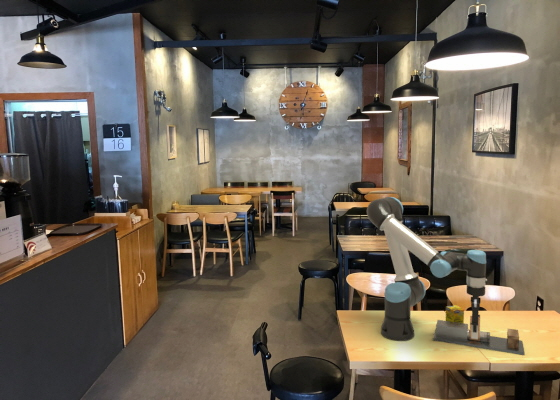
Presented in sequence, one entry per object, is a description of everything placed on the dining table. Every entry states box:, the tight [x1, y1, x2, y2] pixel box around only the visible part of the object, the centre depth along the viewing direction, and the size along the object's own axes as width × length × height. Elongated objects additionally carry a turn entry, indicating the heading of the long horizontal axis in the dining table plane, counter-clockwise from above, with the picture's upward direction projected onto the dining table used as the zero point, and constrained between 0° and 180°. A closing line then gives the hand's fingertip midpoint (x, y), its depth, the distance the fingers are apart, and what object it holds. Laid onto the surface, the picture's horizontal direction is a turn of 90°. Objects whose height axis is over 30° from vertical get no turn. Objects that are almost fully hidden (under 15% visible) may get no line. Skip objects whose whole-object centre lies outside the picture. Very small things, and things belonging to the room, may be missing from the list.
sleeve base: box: [432, 319, 525, 356], centre depth 188 cm, size 36×12×6 cm, turn 64°
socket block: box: [506, 328, 520, 349], centre depth 182 cm, size 4×8×6 cm, turn 154°
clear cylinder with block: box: [467, 315, 491, 341], centre depth 190 cm, size 20×4×10 cm, turn 64°
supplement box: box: [445, 304, 465, 323], centre depth 201 cm, size 6×6×11 cm
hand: (474, 334), depth 188 cm, fingers open, 8 cm apart
